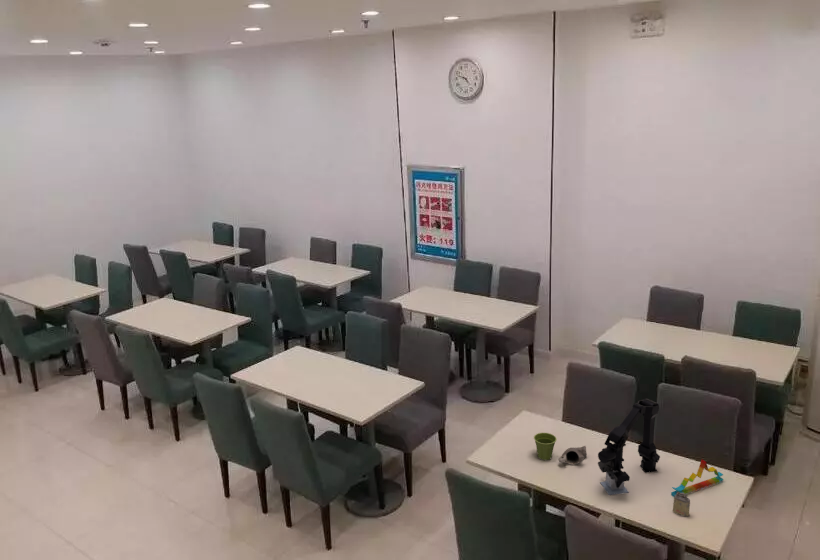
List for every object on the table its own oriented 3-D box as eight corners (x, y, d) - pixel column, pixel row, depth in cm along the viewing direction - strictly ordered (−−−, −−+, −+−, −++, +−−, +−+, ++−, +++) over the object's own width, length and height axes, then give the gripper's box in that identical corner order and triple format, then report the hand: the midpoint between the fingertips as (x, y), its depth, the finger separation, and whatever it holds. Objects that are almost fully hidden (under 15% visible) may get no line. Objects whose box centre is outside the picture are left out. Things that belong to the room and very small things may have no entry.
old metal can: (689, 513, 297) (691, 495, 294) (687, 518, 294) (689, 499, 291) (673, 508, 301) (675, 489, 298) (671, 512, 298) (673, 493, 296)
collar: (605, 482, 320) (606, 471, 318) (618, 480, 321) (618, 470, 319) (610, 490, 314) (611, 479, 312) (623, 488, 315) (624, 478, 313)
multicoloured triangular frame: (676, 499, 308) (678, 471, 304) (671, 495, 311) (673, 468, 306) (723, 482, 319) (726, 456, 315) (718, 479, 322) (721, 452, 318)
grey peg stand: (619, 480, 323) (620, 471, 321) (628, 492, 314) (629, 482, 312) (600, 483, 322) (600, 473, 320) (608, 495, 312) (609, 485, 311)
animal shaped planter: (565, 471, 347) (565, 471, 332) (555, 456, 350) (555, 456, 335) (591, 454, 346) (592, 455, 332) (581, 440, 349) (582, 439, 335)
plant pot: (560, 457, 345) (561, 439, 341) (544, 465, 338) (545, 446, 335) (544, 448, 354) (545, 429, 351) (528, 455, 348) (529, 437, 344)
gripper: (592, 446, 320) (591, 474, 325) (608, 468, 303) (606, 496, 307) (614, 444, 322) (612, 471, 326) (631, 465, 304) (629, 494, 309)
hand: (614, 483), depth 317 cm, fingers closed on collar, 7 cm apart
